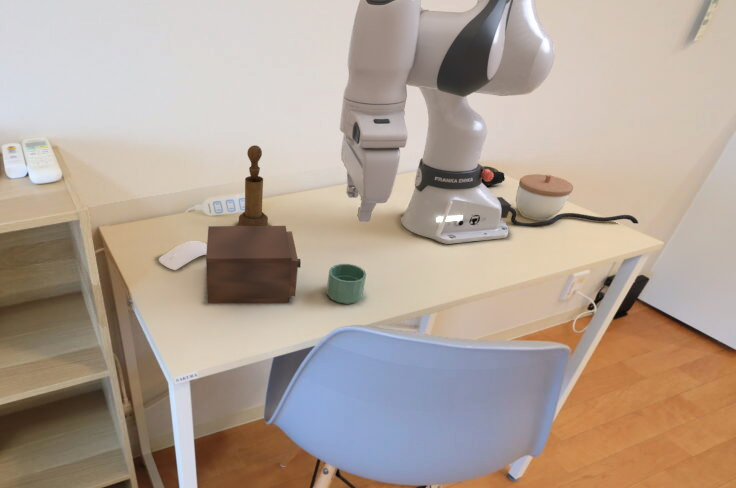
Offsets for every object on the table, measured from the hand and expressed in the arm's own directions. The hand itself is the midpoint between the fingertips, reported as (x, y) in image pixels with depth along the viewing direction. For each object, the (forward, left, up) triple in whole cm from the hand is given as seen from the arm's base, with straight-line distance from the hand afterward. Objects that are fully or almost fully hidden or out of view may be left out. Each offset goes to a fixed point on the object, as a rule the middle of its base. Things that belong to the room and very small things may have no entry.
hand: (357, 207), depth 85 cm
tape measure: (-46, -53, -17) cm, 72 cm away
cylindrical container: (0, 0, -17) cm, 17 cm away
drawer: (+15, -4, -16) cm, 23 cm away
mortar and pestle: (+16, -29, -17) cm, 37 cm away
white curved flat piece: (+30, -15, -17) cm, 38 cm away
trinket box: (-50, -34, -17) cm, 63 cm away
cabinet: (+18, -4, -17) cm, 25 cm away
